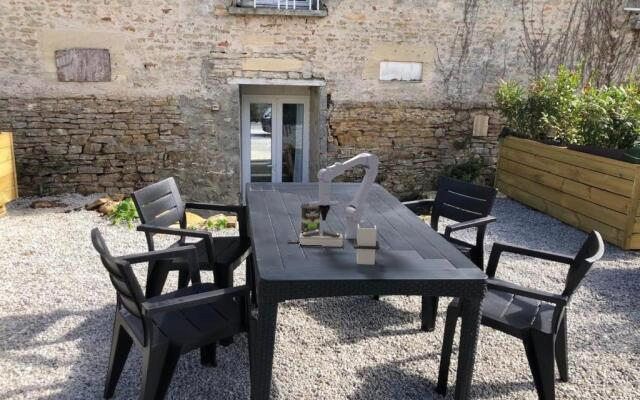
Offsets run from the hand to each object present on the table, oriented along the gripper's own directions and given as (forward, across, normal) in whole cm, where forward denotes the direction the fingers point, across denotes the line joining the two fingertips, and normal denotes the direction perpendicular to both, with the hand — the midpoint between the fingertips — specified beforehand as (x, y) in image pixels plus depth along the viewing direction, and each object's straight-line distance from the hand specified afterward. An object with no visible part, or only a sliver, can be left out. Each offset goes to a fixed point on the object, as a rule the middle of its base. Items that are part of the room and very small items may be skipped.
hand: (323, 220), depth 234 cm
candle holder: (+11, -12, +33) cm, 37 cm away
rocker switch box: (+11, +5, +4) cm, 12 cm away
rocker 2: (+6, -3, +6) cm, 8 cm away
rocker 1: (+6, +7, +4) cm, 10 cm away
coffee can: (+11, +4, -16) cm, 20 cm away
